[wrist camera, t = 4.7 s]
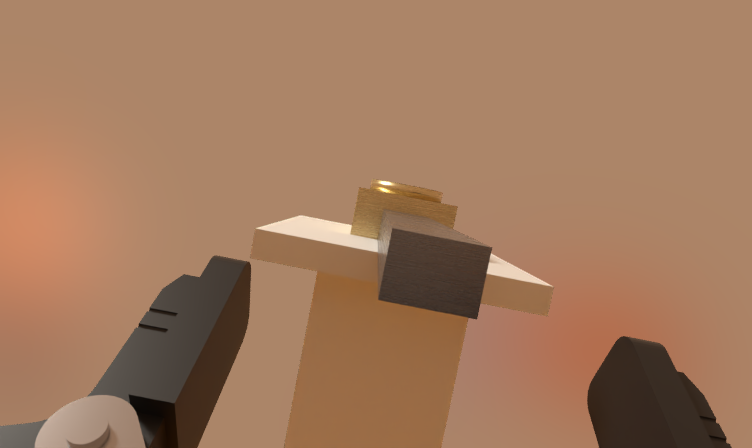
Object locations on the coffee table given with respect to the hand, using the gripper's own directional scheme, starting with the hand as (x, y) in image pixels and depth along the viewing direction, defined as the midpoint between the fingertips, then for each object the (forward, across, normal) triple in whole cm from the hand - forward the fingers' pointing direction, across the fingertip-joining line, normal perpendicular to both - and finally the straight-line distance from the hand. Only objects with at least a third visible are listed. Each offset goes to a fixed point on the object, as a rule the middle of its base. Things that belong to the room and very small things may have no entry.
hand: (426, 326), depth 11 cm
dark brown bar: (+10, 0, +5) cm, 11 cm away
